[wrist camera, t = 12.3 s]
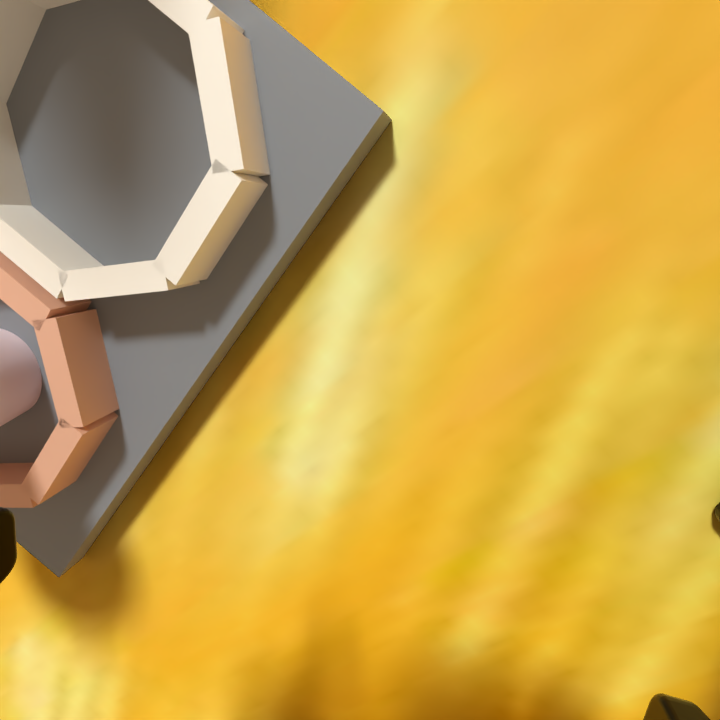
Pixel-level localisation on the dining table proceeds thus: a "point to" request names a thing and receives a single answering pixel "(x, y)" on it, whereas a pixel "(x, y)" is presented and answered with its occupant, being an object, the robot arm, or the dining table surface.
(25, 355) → the smoothie
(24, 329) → the board
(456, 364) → the dining table surface
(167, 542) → the dining table surface
